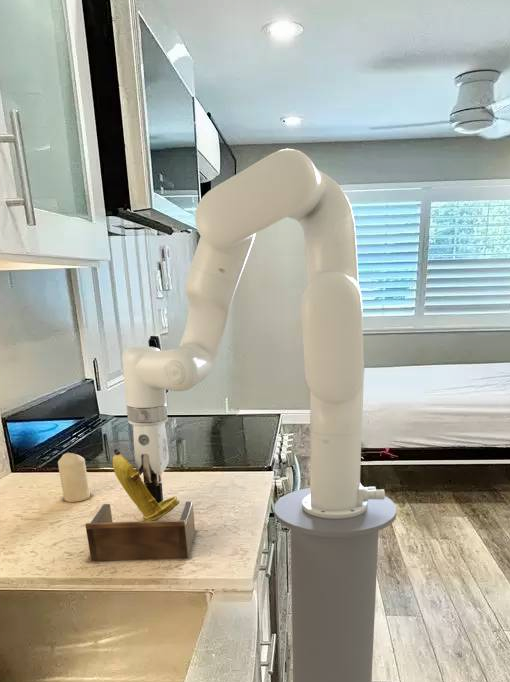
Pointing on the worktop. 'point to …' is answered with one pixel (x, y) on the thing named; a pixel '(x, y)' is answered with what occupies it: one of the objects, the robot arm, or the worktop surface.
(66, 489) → the candle
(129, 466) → the ripe yellow banana
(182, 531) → the wooden u-shaped stand
